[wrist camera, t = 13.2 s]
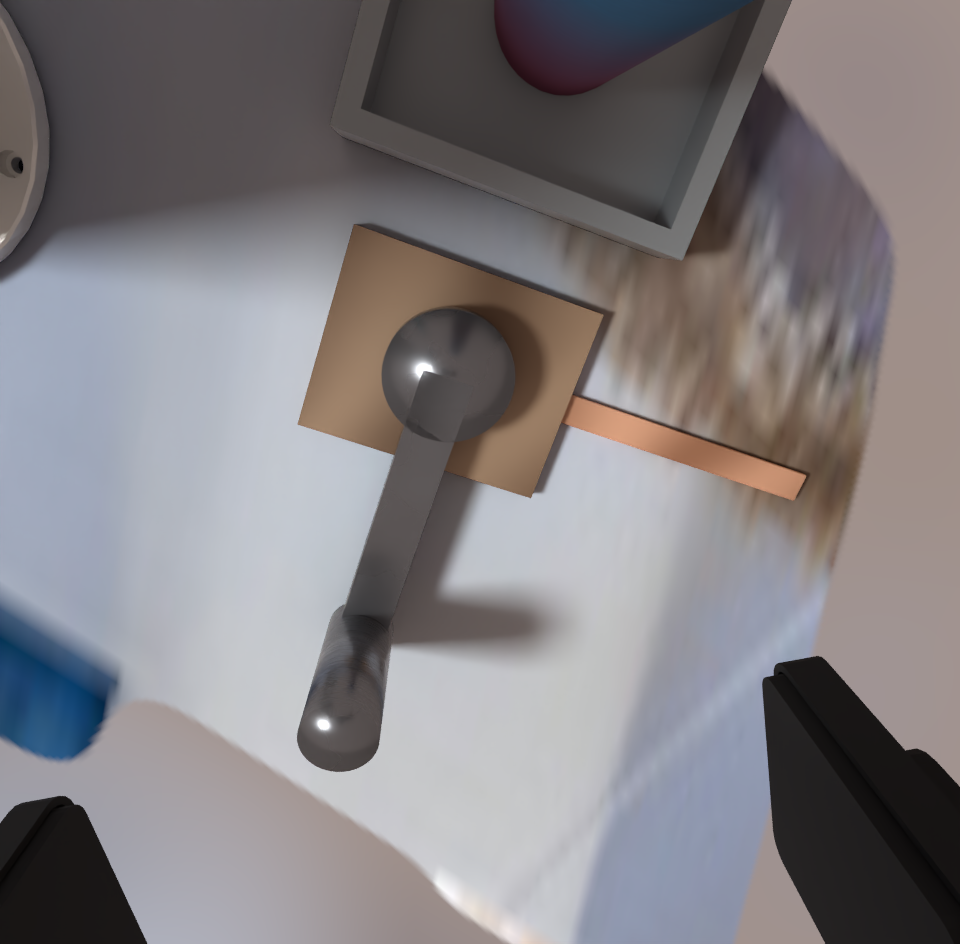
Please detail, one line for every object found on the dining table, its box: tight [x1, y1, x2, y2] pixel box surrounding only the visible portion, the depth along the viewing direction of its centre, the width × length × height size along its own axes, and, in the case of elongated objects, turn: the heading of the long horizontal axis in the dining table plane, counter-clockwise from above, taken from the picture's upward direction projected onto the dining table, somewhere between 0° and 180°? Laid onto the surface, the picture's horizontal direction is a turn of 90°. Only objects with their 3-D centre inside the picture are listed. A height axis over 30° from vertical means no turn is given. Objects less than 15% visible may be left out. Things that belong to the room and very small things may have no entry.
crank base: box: [298, 224, 806, 501], centre depth 29 cm, size 21×8×1 cm, turn 71°
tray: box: [330, 0, 792, 261], centre depth 23 cm, size 13×13×3 cm
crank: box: [297, 306, 515, 772], centre depth 26 cm, size 16×5×7 cm, turn 161°
